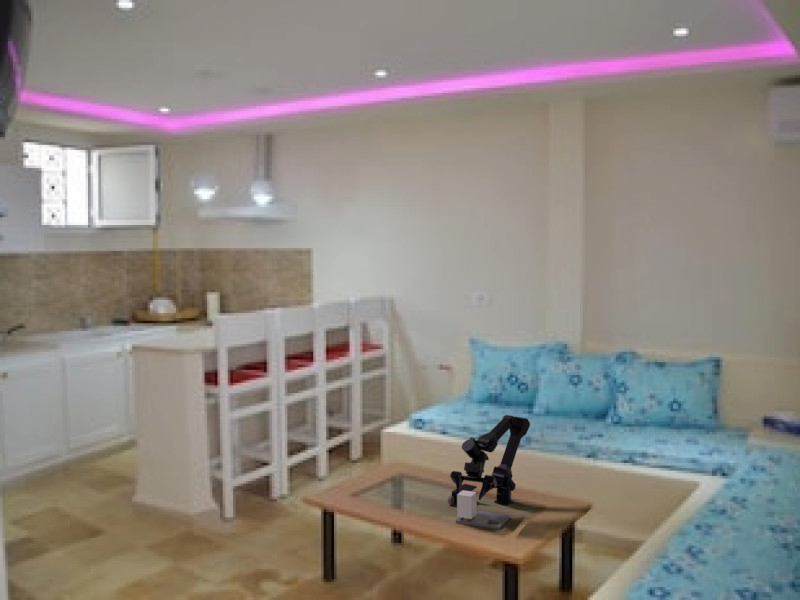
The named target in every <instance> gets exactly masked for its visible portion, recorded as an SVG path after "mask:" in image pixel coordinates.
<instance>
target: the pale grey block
mask: <svg viewBox="0 0 800 600" xmlns="http://www.w3.org/2000/svg"><path fill="white" fill-rule="evenodd" d="M477 501H478V500H477V491H473V490H472V491H464V490H462V491H461V492H460V493H458V494H457V504H456V511H457V512H456V514H457V516H456V517H457V518H459V517H462V518H464V520H465V521H467V518H468V519H470V521H471V520H472V518H473V517H474V516H475V515H476V514H477V511H478V510H477V507H478V506H477Z"/></svg>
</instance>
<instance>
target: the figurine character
mask: <svg viewBox="0 0 800 600" xmlns="http://www.w3.org/2000/svg"><path fill="white" fill-rule="evenodd" d="M462 484H463V486H462V489H461V491H462V490H464V491H472V492H473V491H474V490H475V489H477V488H478V487H477V485H473V484H468V483H462ZM447 503H448V505H453V504H454V505H457V488H455V489H454V490H453V491H451V495H449V496H448V498H447Z"/></svg>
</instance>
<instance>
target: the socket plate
mask: <svg viewBox="0 0 800 600" xmlns="http://www.w3.org/2000/svg"><path fill="white" fill-rule="evenodd" d="M510 518H511V516H510V514H506V513H503V514H502V513H497V512H490V511H483V510H477V514H476V515H475V516H474V517H473V518H472V520H471V521H470V519H468V518H467V521H465V520H464V518H462V517H457V519H455V523H456V524H461V525H467V526H474V527H479V528H481V527H482V528H487V529H494V530H500V529H501V528H503V526H504V525H505V524H506V522H507V521H508V520H509V519H510ZM490 523H491V524H490ZM496 524H497V525H496Z"/></svg>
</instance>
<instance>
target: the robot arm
mask: <svg viewBox="0 0 800 600" xmlns="http://www.w3.org/2000/svg"><path fill="white" fill-rule="evenodd" d="M530 427H531V422H530V421H529V419H528V418H527V417H521V416H520V417H519V416H514V415H509V414H505V415H503V417H502V419H501V420H500V421H499V422H498V423H497V424H496V425H495V426H494V427H493V428H492V429H491V430H490V431H489V432H487V433H484V434H482V435H481V436H479V437H478V438H477V440H476V438H475V437H469V439H466V440H465V441H464V442H463V443H462V445H461V449H462V451H464V453H465V455H467V456H468V457H469V458H470V459H471V461H470V462H464V467H463V470H464V472H465V474H466V475H464V474H463V473H462V471H457V470H452V471H451V472H450V475H449V477H450V478H451V481H452V482H453V484H455V485H456V487H455V488H456V489H457V494H458V493H460V492H461V489H462V486H463V484H464V481H466V482H467V481H468V482H476V483H481V484H482V485H481V489H480V492H479V495H478V500H479V501H481V500H482V499H483V498H484V496H485V495H486V494H488V493H489V492H490V490H493V489H496V500H494V501H493V503H495V504H500V505H503V506H507V505H510V504H512V503H515V500H513V499H512V492H514V491H515V490H516V483H515V482H514V480H513V479H512V478H513V471H512V466H513V463H514V461H515V458H516V454H517V452H518V448H519V445H520V443H521V439H522V438H524V437H525V436H526V434H527V433H528V431H529V429H530ZM508 431H509V433H510V434H509V438H508V441H507V444H506V445H505V446H506V447H505V450H504V452H503V455H502V458H501V461H500V463H499V465H498V466H494V467H493V470H492V472H491V475H489V474H485V475H484V477H482V476H483V473H484V472H485V470H484V469H485V465H486V462H487V461H490V458H489V456H488V453H493V452H494V451H495V450H496V448H497V447H498V442H499V440H500V439H501V438H502V437H503V436H504V435H505V434H506V433H507V432H508ZM486 452H487V453H486Z"/></svg>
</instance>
